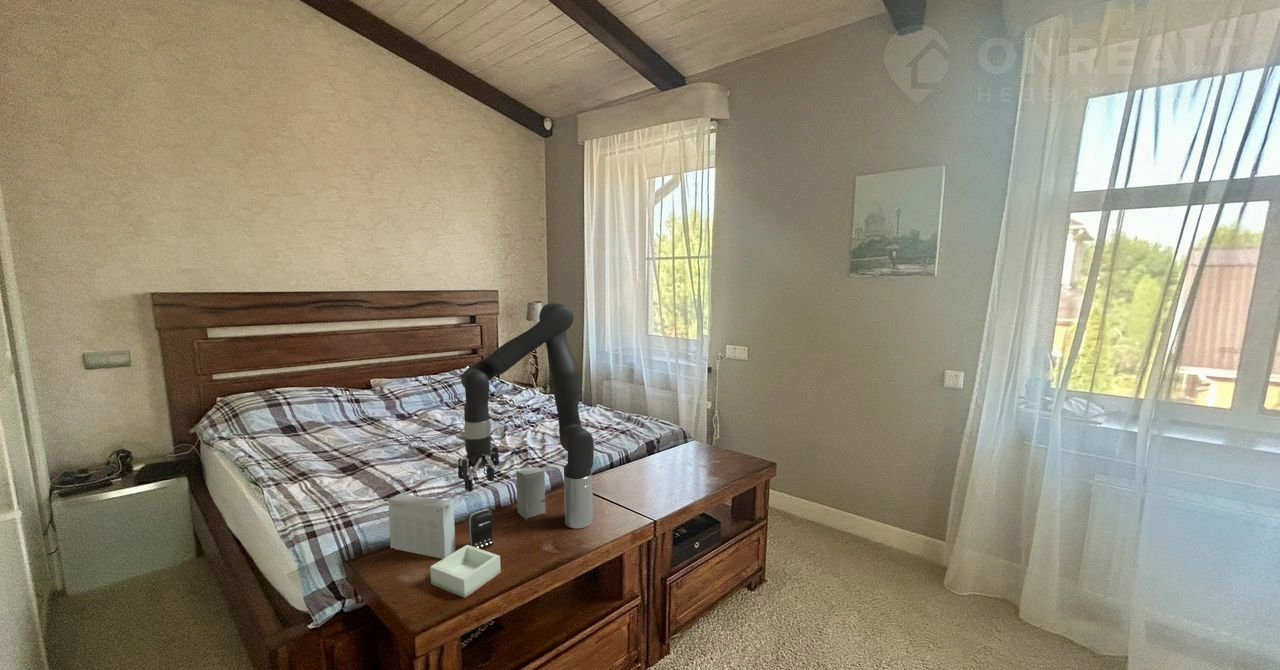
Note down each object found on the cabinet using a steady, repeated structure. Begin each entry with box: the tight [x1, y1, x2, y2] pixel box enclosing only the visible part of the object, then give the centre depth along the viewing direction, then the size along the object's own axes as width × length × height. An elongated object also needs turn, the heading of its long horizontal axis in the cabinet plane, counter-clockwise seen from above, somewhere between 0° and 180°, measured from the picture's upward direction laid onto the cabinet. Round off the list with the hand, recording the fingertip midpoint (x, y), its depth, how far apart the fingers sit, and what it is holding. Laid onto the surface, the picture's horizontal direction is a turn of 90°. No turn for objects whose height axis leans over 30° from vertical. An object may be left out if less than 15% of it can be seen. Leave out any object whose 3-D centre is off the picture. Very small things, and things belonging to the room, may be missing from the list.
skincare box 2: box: [515, 465, 546, 520], centre depth 178 cm, size 8×7×16 cm
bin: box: [429, 544, 502, 599], centre depth 140 cm, size 13×13×5 cm
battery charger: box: [468, 508, 495, 550], centre depth 156 cm, size 7×4×11 cm, turn 131°
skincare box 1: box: [387, 493, 456, 560], centre depth 155 cm, size 21×6×16 cm, turn 71°
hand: (480, 485), depth 154 cm, fingers open, 8 cm apart
